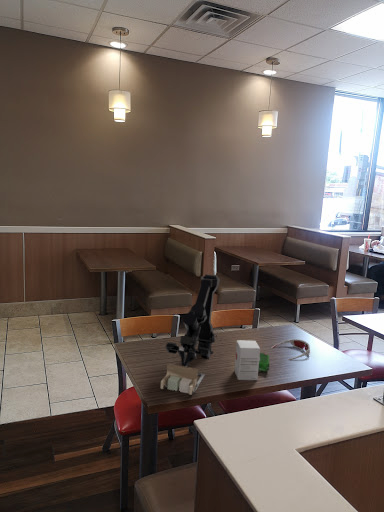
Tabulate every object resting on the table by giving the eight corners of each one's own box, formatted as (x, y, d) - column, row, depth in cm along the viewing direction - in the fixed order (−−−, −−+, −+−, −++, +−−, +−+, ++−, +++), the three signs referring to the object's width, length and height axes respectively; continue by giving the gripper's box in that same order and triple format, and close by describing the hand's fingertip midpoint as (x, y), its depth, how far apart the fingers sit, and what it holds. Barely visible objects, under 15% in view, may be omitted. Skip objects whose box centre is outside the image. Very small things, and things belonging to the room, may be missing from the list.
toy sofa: (166, 380, 168) (167, 363, 167) (198, 386, 164) (198, 369, 163) (159, 389, 161) (160, 371, 159) (192, 395, 157) (193, 377, 156)
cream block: (182, 386, 165) (182, 377, 165) (191, 388, 164) (192, 379, 163) (179, 391, 161) (179, 382, 161) (188, 393, 160) (189, 384, 160)
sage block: (170, 384, 167) (171, 375, 166) (179, 386, 165) (180, 377, 165) (167, 389, 163) (167, 380, 162) (176, 391, 162) (177, 381, 161)
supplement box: (233, 370, 182) (236, 339, 180) (253, 371, 183) (255, 340, 180) (237, 380, 173) (240, 347, 171) (257, 380, 174) (260, 348, 171)
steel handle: (176, 370, 180) (176, 369, 180) (204, 375, 176) (204, 374, 176) (164, 386, 165) (164, 385, 165) (194, 392, 161) (194, 391, 161)
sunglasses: (317, 357, 202) (316, 348, 201) (289, 366, 196) (288, 357, 195) (296, 344, 218) (295, 335, 217) (269, 352, 212) (269, 344, 211)
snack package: (252, 374, 180) (253, 363, 179) (253, 359, 195) (254, 349, 195) (268, 376, 179) (269, 365, 178) (268, 361, 194) (269, 351, 193)
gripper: (167, 324, 170) (157, 358, 162) (210, 330, 165) (201, 366, 157) (173, 335, 179) (163, 368, 171) (213, 341, 174) (205, 376, 165)
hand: (182, 369), depth 166 cm, fingers closed, pressing on toy sofa
